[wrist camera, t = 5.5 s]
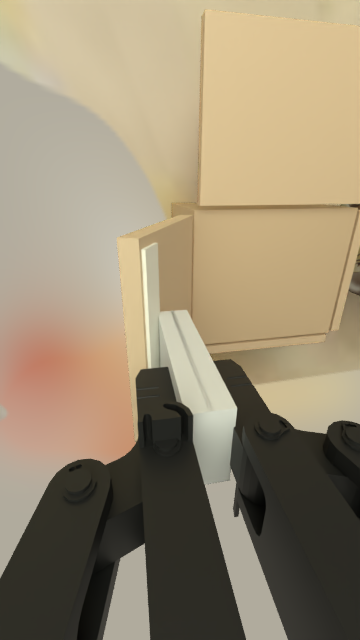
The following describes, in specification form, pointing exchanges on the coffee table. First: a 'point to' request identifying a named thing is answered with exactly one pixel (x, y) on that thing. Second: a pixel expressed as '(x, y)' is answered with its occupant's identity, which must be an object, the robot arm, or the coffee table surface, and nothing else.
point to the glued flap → (153, 289)
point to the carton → (274, 180)
